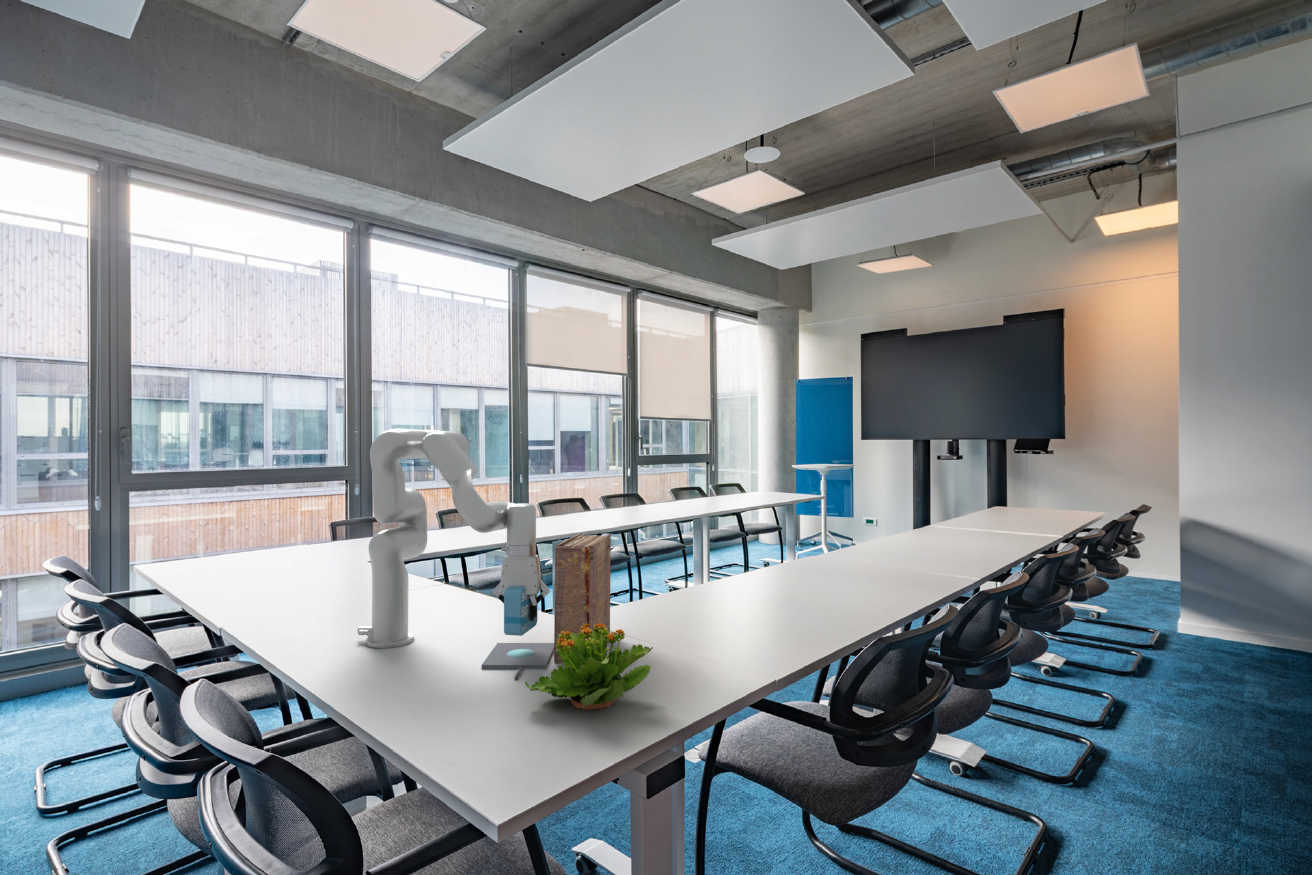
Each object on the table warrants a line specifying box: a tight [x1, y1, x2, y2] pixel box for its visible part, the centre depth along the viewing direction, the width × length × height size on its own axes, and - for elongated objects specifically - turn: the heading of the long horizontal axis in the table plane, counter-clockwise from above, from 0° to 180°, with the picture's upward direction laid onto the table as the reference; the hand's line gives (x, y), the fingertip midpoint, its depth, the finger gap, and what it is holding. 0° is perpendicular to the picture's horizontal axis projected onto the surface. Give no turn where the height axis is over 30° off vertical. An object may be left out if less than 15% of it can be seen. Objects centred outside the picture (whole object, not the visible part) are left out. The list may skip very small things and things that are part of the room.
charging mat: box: [481, 642, 554, 681], centre depth 169 cm, size 16×26×1 cm, turn 1°
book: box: [553, 532, 612, 664], centre depth 180 cm, size 25×9×30 cm, turn 172°
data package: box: [503, 587, 539, 637], centre depth 173 cm, size 12×4×12 cm, turn 169°
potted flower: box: [524, 623, 654, 711], centre depth 144 cm, size 25×24×18 cm
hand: (521, 618), depth 173 cm, fingers closed on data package, 5 cm apart
